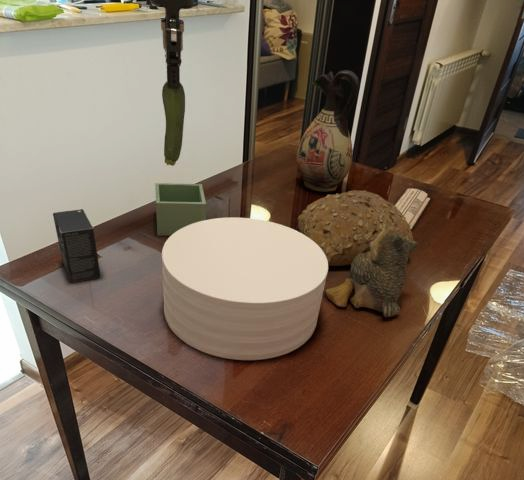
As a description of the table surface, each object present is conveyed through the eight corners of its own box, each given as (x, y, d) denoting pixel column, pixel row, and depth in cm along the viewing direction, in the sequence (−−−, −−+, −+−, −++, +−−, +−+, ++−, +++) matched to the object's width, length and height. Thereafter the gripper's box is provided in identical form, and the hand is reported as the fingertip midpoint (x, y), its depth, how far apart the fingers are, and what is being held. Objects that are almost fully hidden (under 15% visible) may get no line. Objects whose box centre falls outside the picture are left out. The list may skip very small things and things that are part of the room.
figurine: (348, 271, 103) (364, 204, 94) (412, 296, 98) (437, 229, 89) (318, 300, 94) (333, 229, 84) (388, 330, 89) (412, 258, 79)
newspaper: (406, 192, 141) (408, 186, 140) (430, 199, 139) (432, 193, 138) (384, 221, 124) (386, 215, 123) (411, 229, 122) (413, 222, 121)
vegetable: (173, 160, 104) (171, 53, 91) (189, 165, 102) (190, 57, 90) (159, 165, 101) (156, 55, 88) (176, 171, 99) (175, 60, 86)
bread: (370, 221, 123) (383, 175, 116) (417, 264, 109) (435, 214, 101) (283, 228, 116) (289, 179, 108) (320, 275, 101) (331, 222, 93)
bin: (157, 235, 107) (155, 202, 102) (156, 214, 115) (155, 182, 110) (205, 235, 109) (206, 203, 104) (201, 214, 117) (201, 184, 112)
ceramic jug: (281, 184, 136) (297, 63, 117) (311, 171, 146) (329, 58, 127) (333, 204, 129) (358, 79, 110) (360, 189, 139) (388, 72, 120)
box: (62, 262, 95) (52, 212, 88) (91, 258, 97) (84, 208, 90) (70, 283, 90) (60, 231, 83) (101, 278, 92) (94, 227, 85)
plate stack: (272, 384, 75) (281, 326, 68) (131, 319, 84) (125, 261, 76) (339, 301, 94) (352, 248, 87) (219, 255, 103) (221, 204, 96)
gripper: (148, -35, 85) (152, 75, 96) (148, -28, 75) (153, 94, 86) (191, -30, 87) (190, 78, 98) (197, -23, 76) (195, 97, 87)
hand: (173, 85), depth 92 cm, fingers closed on vegetable, 3 cm apart
